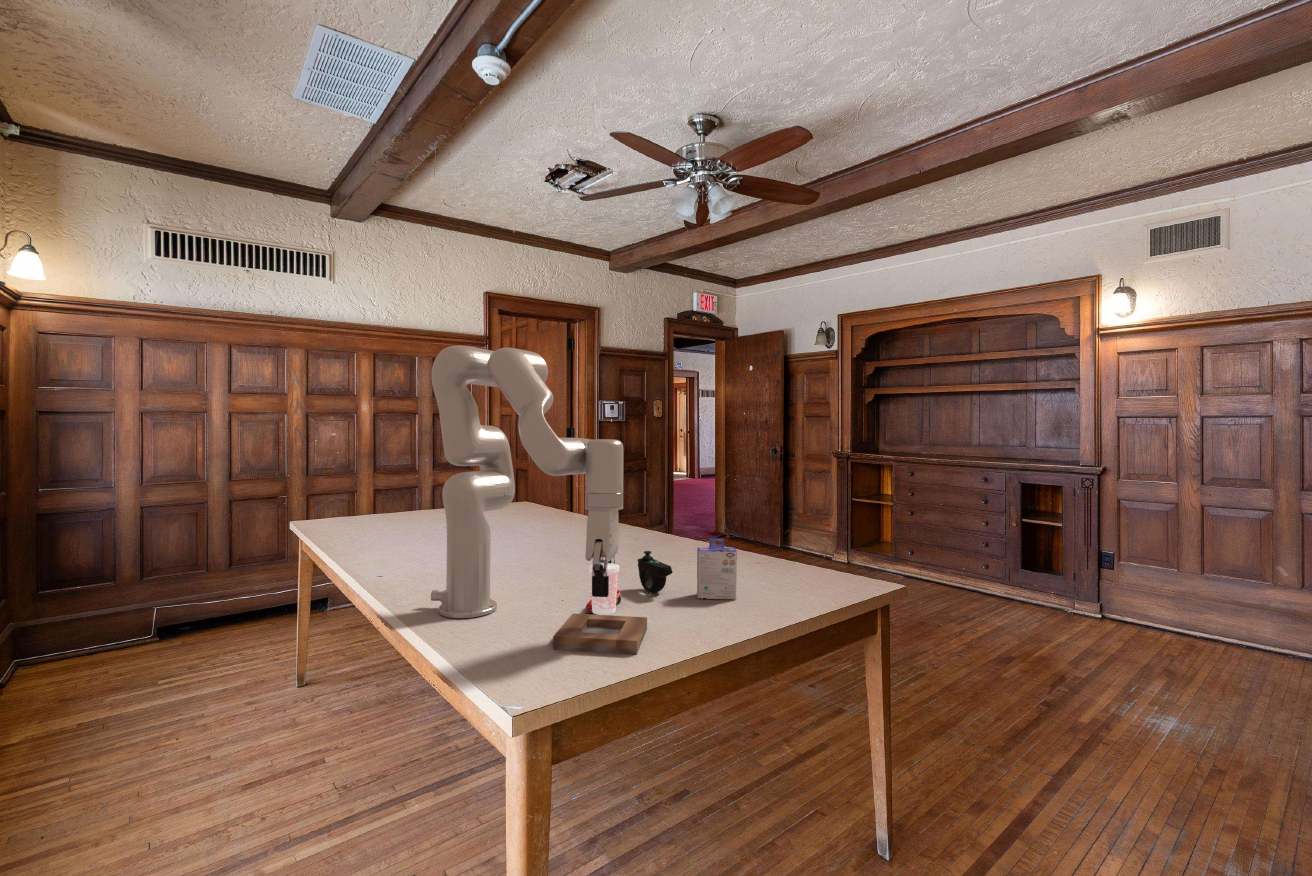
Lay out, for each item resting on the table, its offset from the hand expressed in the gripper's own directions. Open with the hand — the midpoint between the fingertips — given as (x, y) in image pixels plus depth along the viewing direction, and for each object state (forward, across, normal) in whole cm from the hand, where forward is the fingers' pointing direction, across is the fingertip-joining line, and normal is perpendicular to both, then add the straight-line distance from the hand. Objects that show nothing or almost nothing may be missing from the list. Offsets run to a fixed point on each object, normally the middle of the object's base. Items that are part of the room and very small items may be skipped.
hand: (603, 591), depth 116 cm
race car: (+10, -21, -4) cm, 24 cm away
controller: (+10, -35, +6) cm, 37 cm away
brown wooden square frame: (+10, 0, 0) cm, 10 cm away
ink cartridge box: (+10, -34, +22) cm, 42 cm away
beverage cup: (+4, 0, 0) cm, 4 cm away
